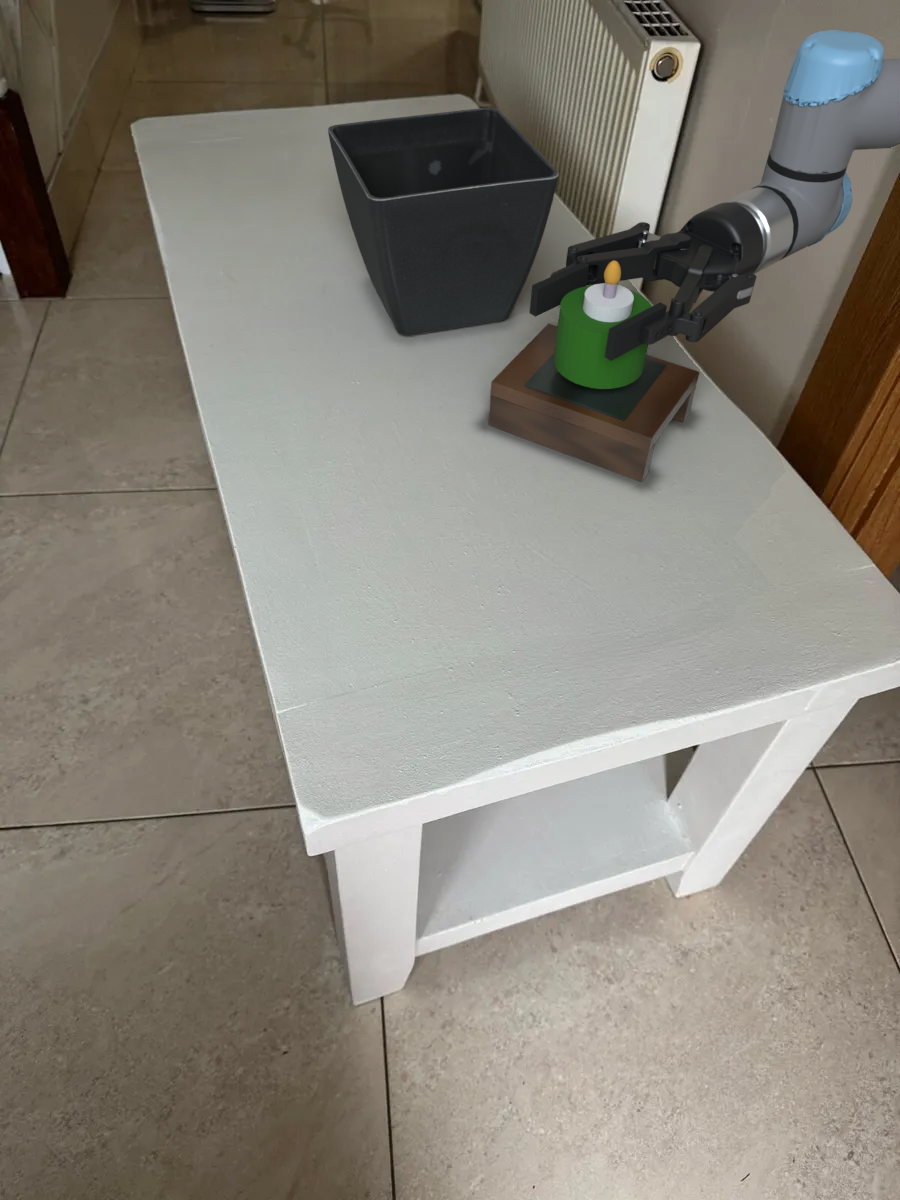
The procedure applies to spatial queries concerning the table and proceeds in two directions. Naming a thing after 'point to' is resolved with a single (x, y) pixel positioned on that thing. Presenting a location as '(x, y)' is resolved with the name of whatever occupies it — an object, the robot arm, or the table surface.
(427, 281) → the flower pot
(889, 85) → the robot arm
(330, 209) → the table surface
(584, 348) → the candle
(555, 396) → the small stand
